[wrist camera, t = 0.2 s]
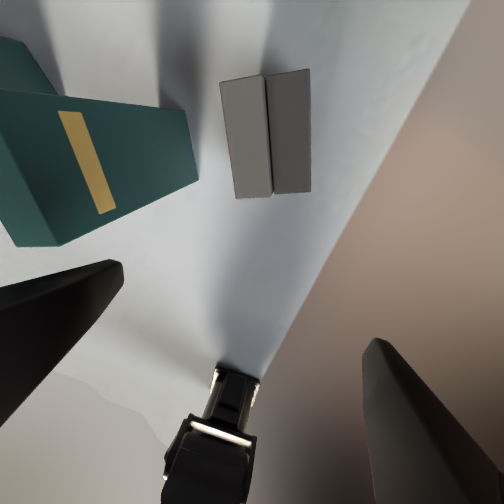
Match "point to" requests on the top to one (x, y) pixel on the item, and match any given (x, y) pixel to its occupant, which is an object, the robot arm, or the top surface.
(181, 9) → the top surface
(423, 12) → the top surface
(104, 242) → the top surface
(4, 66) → the teal books
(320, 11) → the top surface
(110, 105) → the teal book
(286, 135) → the grey books
